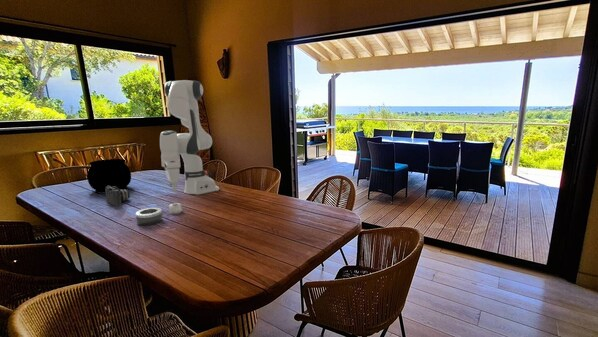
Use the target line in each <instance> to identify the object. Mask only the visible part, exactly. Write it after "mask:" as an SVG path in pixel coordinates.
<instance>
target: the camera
mask: <svg viewBox="0 0 598 337" xmlns="http://www.w3.org/2000/svg"><path fill="white" fill-rule="evenodd" d="M105 191H106V193H105V198H106V202H107V203H108V204H110V205H112V206H114V207H120V206H122V202H124V201H128V200H129V199H130V197H131V196H130V194H131V193H130V191H129V189H124V190H120V189H119V188H117V187H116V186H113V187H111V186H107V187H105Z"/></svg>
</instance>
